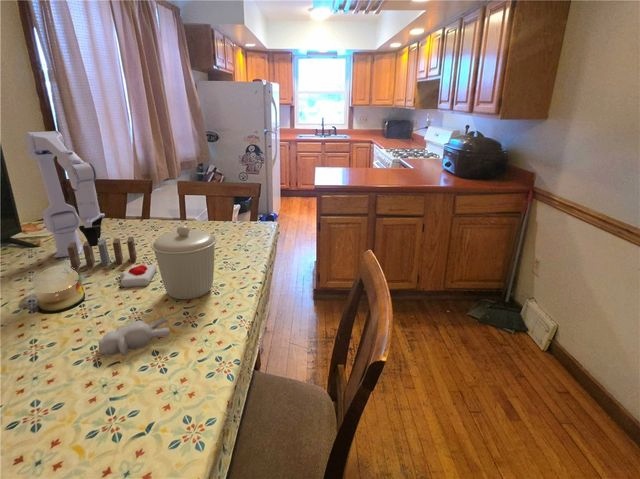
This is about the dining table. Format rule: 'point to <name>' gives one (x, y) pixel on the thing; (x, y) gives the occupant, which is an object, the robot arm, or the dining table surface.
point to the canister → (186, 261)
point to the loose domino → (103, 252)
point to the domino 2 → (88, 254)
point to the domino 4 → (131, 249)
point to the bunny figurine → (131, 337)
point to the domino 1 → (74, 255)
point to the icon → (137, 275)
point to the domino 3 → (117, 251)
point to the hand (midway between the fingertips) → (95, 241)
